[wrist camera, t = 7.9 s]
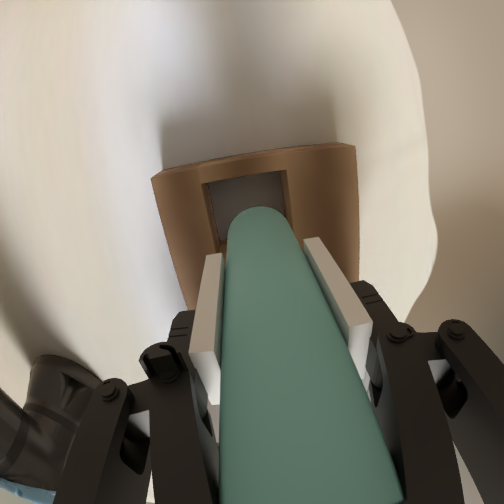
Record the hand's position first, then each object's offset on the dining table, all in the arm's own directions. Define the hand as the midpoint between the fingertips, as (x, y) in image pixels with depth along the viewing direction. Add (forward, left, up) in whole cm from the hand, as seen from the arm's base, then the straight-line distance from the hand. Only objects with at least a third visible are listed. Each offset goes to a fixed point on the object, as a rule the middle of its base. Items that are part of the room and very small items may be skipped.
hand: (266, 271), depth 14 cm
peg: (0, 0, -4) cm, 4 cm away
